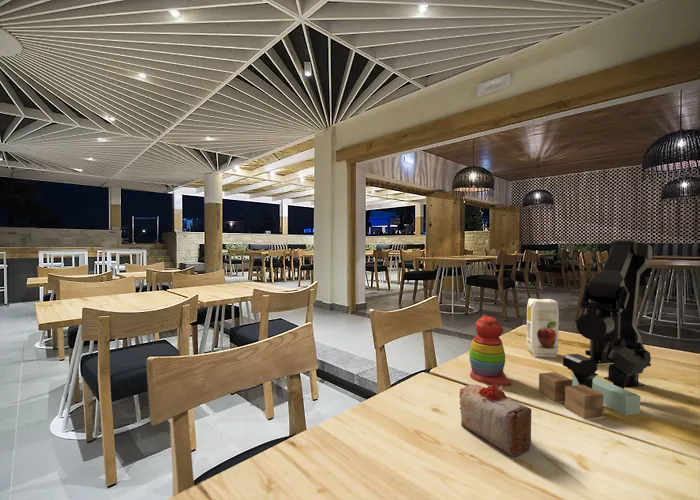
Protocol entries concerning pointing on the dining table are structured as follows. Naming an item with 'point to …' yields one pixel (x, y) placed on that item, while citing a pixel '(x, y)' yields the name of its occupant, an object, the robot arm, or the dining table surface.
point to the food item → (496, 418)
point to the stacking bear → (488, 353)
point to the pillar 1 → (553, 385)
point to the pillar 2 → (584, 401)
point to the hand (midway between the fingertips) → (603, 396)
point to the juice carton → (542, 327)
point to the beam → (615, 396)
